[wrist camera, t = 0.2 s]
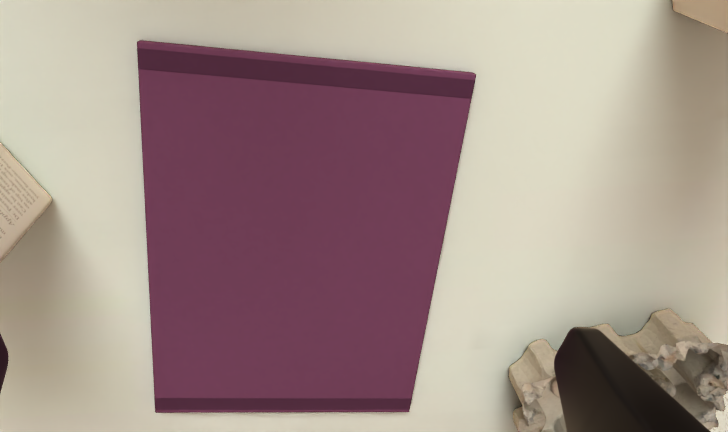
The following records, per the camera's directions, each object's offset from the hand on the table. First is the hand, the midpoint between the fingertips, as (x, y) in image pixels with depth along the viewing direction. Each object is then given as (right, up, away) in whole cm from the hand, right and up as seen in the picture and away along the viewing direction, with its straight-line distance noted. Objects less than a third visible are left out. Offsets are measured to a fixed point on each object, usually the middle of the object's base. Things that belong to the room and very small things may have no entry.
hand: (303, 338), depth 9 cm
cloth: (-2, 0, +17) cm, 17 cm away
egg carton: (+14, -6, +23) cm, 27 cm away
